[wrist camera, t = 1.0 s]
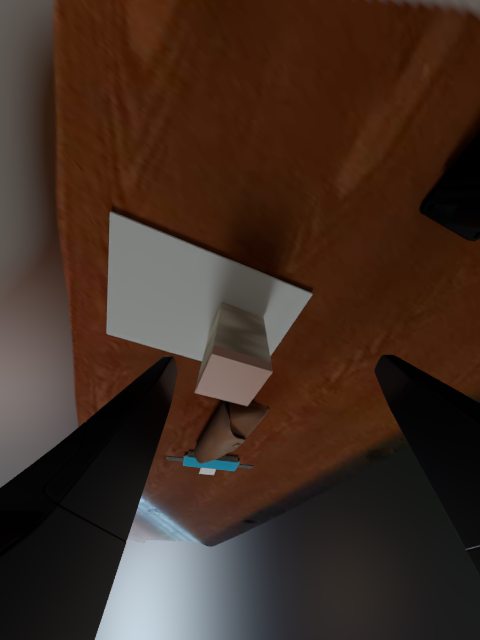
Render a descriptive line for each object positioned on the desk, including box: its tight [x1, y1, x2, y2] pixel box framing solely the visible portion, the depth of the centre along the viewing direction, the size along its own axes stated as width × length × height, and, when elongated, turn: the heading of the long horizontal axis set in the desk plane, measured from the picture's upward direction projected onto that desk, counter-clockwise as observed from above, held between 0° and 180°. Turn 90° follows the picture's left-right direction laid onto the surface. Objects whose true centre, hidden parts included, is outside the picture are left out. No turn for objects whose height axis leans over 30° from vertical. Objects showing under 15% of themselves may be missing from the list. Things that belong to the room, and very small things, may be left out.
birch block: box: [195, 302, 273, 406], centre depth 19 cm, size 5×5×8 cm
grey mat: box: [107, 212, 313, 361], centre depth 22 cm, size 20×14×1 cm
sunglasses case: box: [194, 400, 269, 464], centre depth 35 cm, size 18×7×7 cm
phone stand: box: [166, 451, 253, 475], centre depth 45 cm, size 20×12×2 cm, turn 77°
